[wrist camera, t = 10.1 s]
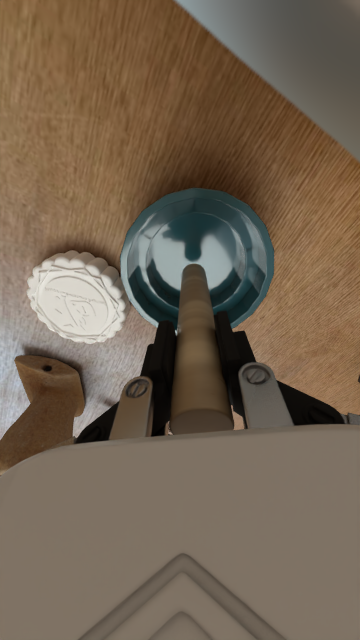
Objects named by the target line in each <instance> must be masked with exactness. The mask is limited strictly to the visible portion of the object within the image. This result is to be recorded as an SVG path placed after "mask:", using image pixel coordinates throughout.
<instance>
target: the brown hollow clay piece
mask: <svg viewBox="0 0 360 640" xmlns="http://www.w3.org/2000/svg"><path fill="white" fill-rule="evenodd" d="M14 361H15V364H16V367H17V370H18V373H19V376H20V379H21V381H22V383H23V386H24V389H25V391H26V394H27V396H28V399H29V401H30V403H31V404H30V405H29V407H28V408H27V409H26V410H25V412H24V413H23V414H22V415H21V416H20V417H19V418H18V419H17V420H16V422H15V423H14V424H13V425H12V426H11V427H10V428H9V429H8V430H7V431H6V433H5V434H4V436H3V437H2V439H1V440H0V476H1V475H2V474H4V473H5V472H6V471H7V470H8V469H10V468H11V467H13V466H14V465H16V464H18V463H19V462H21V461H23V460H25V459H27V458H29V457H31V456H34V455H36V454H38V453H41V452H43V451H45V450H47V449H49V448H51V447H53V446H55V445H57V444H59V443H61V442H63V441H65V440H67V439H70V438H72V437H73V422H74V417H77V416H80V415H81V414H82V413H83V411H84V407H85V401H84V396H83V390H82V386H81V382H80V376H79V374H78V372H77V371H76V370H75V369H73V368H71V367H70V366H68V365H67V364H65V363H63V362H61V361H58V360H56V359H50V358H47V357H42V356H34V355H21V356H17V357H16V358H15V360H14Z"/></svg>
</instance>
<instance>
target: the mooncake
mask: <svg viewBox="0 0 360 640" xmlns="http://www.w3.org/2000/svg"><path fill="white" fill-rule="evenodd" d="M32 273H33V275H32V276H30V277H29V278H28V281H27V283H28V285H29V287H30V288H28V290H27V296H28V297H29V299H30V300H31V303H30V305H31V308H32V309H33V310H34V311H35V312H37V316H38V318H39V320H40V321H42V322H43V323H46V324H47V327H48V328H49V329H50V330H51V331H54V332H56V333H59V335H60V336H61V337H63V338H67V339H72V340H73V341H75V342H83V341H84V342H85V343H88V344H92V343H94V342H96V341H97V342H104V341H106V339H107V338H112V337H114V336H115V335H116V333H117V331H119V330H121V329H122V327H123V325H124V323H125V321H126V319H127V314H128V312H129V310H130V308H131V305H130V303H129V299H128V296H127V294H126V291H125V288H124V286H123V283H122V280H121V277H119V273H118V271H117V269H116V268H114V267H112V266H108V263H107V262H106V261H105V260H104V259H102V258H95V257H94V256H93V255H92V254H91V253H88V252H82V253H81V254H80V253H78V252H77V251H74V250H71V251H68V252H66V253H58V254H55V255H54V256H52V257H50V258H48V259H46V260H44V261H43V262H42V264H40V265H38V266H36V267H34V269H33V272H32Z"/></svg>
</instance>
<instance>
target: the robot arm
mask: <svg viewBox="0 0 360 640" xmlns="http://www.w3.org/2000/svg"><path fill="white" fill-rule="evenodd" d="M213 316H214V323H215V330H216V335H217V341H218V346H219V352H220V357H221V363H222V368H223V374H224V379H225V382H226V384H227V388H228V393H229V399H230V404H231V405H233V411H235V412H236V413H237V414H239V415H240V416H242V418H243V424H244V429H243V430H230V431H217V432H204V433H192V434H180V435H168V429H169V425H168V421H169V420H170V409H171V397H172V385H173V373H174V362H175V350H176V338H177V336H176V332H175V329H174V325H173V322H169V320H163V321H159V323H158V328H157V332H156V337H155V341H154V344H149V345H148V347H147V351H146V355H145V359H144V363H143V367H142V371H141V374H140V376H139V377H135V378H133V379H131V380H130V381H129V382H127V384H126V385H125V386H124V388H123V390H122V394H121V398H120V401H119V402H117V403H116V404H115V405H114V406H112V407H111V408H110V409H108V410H107V411H106V412H105V413H103V414H102V415H101V416H100V417H98V418H97V419H96V420H95V421H93V422H92V423H91V424H89V425H88V426H87V427H86V428H85V429H84V430H83V431H82V432H81V433H80V435H79V436H78V438H76V437H75V436H74V437H72V438H70V439H67V440H65V441H63V442H61V443H59V444H57V445H55V446H53V447H51V448H49V449H47V450H45V451H43V452H41V453H38V454H36V455H34V456H31V457H29V458H27V459H25V460H23V461H21V462H19V463H18V464H16V465H14V466H13V467H11V468H10V469H8V470H7V471H6V472H5V473H4V474H2V475H1V476H0V640H360V415H356V414H352V413H348V414H347V415H344V414H340V413H339V412H338V411H337V410H336V409H335V408H333V407H331V406H330V405H328V404H326V403H324V402H322V401H320V400H318V399H315V398H313V397H311V396H309V395H307V394H305V393H303V392H301V391H298V390H296V389H294V388H292V387H290V386H288V385H286V384H284V383H282V382H279V381H277V380H276V378H275V375H274V373H273V371H272V370H271V368H269V367H268V366H267V365H265V364H263V363H258V362H256V360H255V357H254V354H253V352H252V349H251V347H250V344H249V341H248V339H247V336H246V333H245V331H238V332H233V331H232V328H231V325H230V321H229V318H228V314H227V311H220V312H217V315H213Z"/></svg>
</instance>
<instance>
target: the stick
mask: <svg viewBox="0 0 360 640" xmlns="http://www.w3.org/2000/svg"><path fill="white" fill-rule="evenodd" d="M213 315H214V314H213V309H212V304H211V299H210V293H209V288H208V283H207V278H206V272H205V270H204V268H203V267H202V266H201V265H199V264H189V265H187V266H186V267H185V268H184V269H183V271H182V278H181V290H180V302H179V314H178V325H177V338H176V350H175V362H174V373H173V385H172V397H171V409H170V420H169V427H170V430H171V432H172V434H173V435H180V434H192V433H204V432H217V431H230V430H233V429H234V420H233V414H232V409H231V404H230V399H229V393H228V388H227V384H226V382H225V379H224V374H223V368H222V363H221V357H220V352H219V346H218V341H217V335H216V330H215V323H214V316H213Z"/></svg>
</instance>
